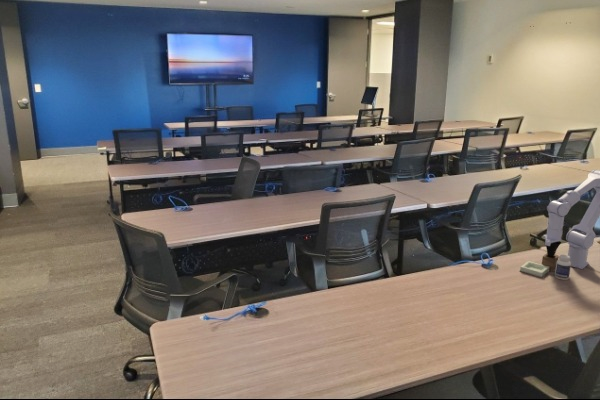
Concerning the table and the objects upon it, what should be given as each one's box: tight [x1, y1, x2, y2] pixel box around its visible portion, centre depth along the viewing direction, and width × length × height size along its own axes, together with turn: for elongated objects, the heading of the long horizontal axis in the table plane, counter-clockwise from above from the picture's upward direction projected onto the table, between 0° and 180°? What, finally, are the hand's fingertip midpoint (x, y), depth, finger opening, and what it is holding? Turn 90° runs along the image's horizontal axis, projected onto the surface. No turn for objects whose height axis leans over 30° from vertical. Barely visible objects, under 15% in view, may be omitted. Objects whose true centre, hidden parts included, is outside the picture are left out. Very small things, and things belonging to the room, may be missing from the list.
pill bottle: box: [554, 254, 572, 281], centre depth 194 cm, size 5×5×10 cm
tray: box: [519, 260, 550, 278], centre depth 201 cm, size 9×9×2 cm
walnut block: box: [541, 253, 560, 273], centre depth 204 cm, size 5×5×6 cm
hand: (550, 256), depth 203 cm, fingers closed
